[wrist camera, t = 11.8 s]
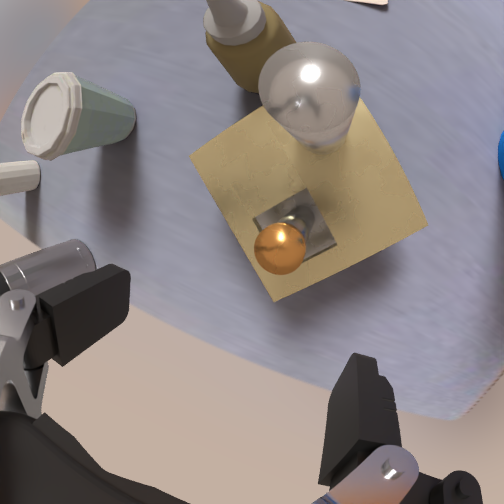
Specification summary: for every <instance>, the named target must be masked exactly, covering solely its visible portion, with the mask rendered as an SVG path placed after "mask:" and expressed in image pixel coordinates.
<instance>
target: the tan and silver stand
mask: <svg viewBox="0 0 504 504" xmlns="http://www.w3.org/2000/svg"><path fill="white" fill-rule="evenodd" d="M258 89H259V95H260V99H261V102H262V104H263V106H261V107H260V108H258V109H256V110H255V111H253V112H252V113H250V114H249V115H247V116H246V117H244V118H242V119H241V120H239V121H238V122H236V123H235V124H233V125H232V126H230V127H229V128H228V129H226V130H225V131H223V132H222V133H220V134H219V135H217V136H216V137H215V138H213V139H212V140H210V141H209V142H207V143H206V144H205V145H203V146H202V147H201V148H199V149H198V150H196V151H195V152H194V153H192V154H191V155H190V156H189V157H190V159H191V161H192V162H193V164H194V166H195V168H196V169H197V171H198V173H199V175H200V176H201V178H202V180H203V181H204V183H205V185H206V187H207V188H208V190H209V192H210V194H211V195H212V197H213V199H214V200H215V202H216V204H217V206H218V207H219V209H220V211H221V212H222V214H223V216H224V218H225V219H226V221H227V223H228V225H229V226H230V228H231V230H232V231H233V233H234V235H235V237H236V238H237V240H238V242H239V243H240V245H241V247H242V249H243V250H244V252H245V254H246V255H247V257H248V259H249V261H250V262H251V264H252V266H253V267H254V269H255V271H256V272H257V274H258V276H259V278H260V279H261V281H262V283H263V284H264V286H265V288H266V290H267V291H268V293H269V295H270V296H271V298H272V300H273V301H274V302H275V301H278V300H280V299H282V298H284V297H287V296H289V295H291V294H293V293H295V292H297V291H300V290H302V289H304V288H306V287H308V286H310V285H312V284H315V283H317V282H319V281H321V280H323V279H325V278H327V277H329V276H331V275H333V274H335V273H337V272H340V271H342V270H344V269H346V268H348V267H350V266H352V265H354V264H356V263H358V262H360V261H362V260H364V259H366V258H368V257H370V256H371V255H373V254H375V253H377V252H379V251H381V250H383V249H385V248H387V247H389V246H391V245H393V244H395V243H396V242H398V241H400V240H402V239H404V238H406V237H408V236H410V235H411V234H413V233H415V232H417V231H419V230H421V229H422V228H424V227H426V226H428V223H427V221H426V218H425V216H424V214H423V211H422V209H421V207H420V205H419V202H418V200H417V198H416V196H415V194H414V191H413V189H412V187H411V185H410V183H409V181H408V179H407V177H406V175H405V173H404V171H403V169H402V167H401V165H400V163H399V162H398V160H397V158H396V156H395V154H394V152H393V150H392V149H391V147H390V145H389V143H388V142H387V140H386V138H385V136H384V135H383V133H382V131H381V130H380V128H379V126H378V125H377V123H376V121H375V120H374V118H373V117H372V115H371V113H370V112H369V110H368V109H367V107H366V106H365V104H364V103H363V101H362V100H361V98H360V80H359V77H358V74H357V71H356V69H355V67H354V66H353V64H352V63H351V62H350V61H349V59H348V58H347V57H346V56H345V55H343V54H342V53H341V52H339V51H338V50H336V49H334V48H332V47H330V46H328V45H325V44H321V43H316V42H299V43H294V44H291V45H288V46H285V47H283V48H281V49H280V50H278V51H277V52H275V53H274V54H273V55H272V56H271V57H270V58H269V59H268V60H267V61H266V63H265V64H264V66H263V68H262V70H261V73H260V76H259V82H258ZM299 205H303V206H307V207H309V208H310V209H311V210H312V211H313V213H314V216H315V222H314V225H313V227H312V230H311V233H310V235H309V238H308V240H307V243H306V253H305V256H304V259H303V261H302V263H301V265H300V266H299V267H298V268H297V269H296V270H295V271H293V272H292V273H289V274H286V275H275V274H272V273H269V272H267V271H266V270H264V269H263V268H262V267H261V266H260V265H259V263H258V262H257V260H256V257H255V254H254V243H255V240H256V238H257V236H258V235H259V233H260V232H261V231H262V230H263V229H265V228H266V227H267V226H269V225H271V224H273V223H276V222H277V221H279V220H280V219H281V218H282V217H283V216H284V215H286V214H287V213H288V212H289V211H290V210H291V209H293V208H294V207H296V206H299Z"/></svg>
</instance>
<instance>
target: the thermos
mask: <svg viewBox="0 0 504 504" xmlns="http://www.w3.org/2000/svg"><path fill="white" fill-rule="evenodd" d="M498 162H499V166H500V171H501V175H502V177H503V179H504V131H503V133H502V134H501V138H500V141H499V145H498Z"/></svg>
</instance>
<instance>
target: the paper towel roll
mask: <svg viewBox="0 0 504 504" xmlns="http://www.w3.org/2000/svg"><path fill="white" fill-rule="evenodd" d="M39 181H40V168H39V165H38V163H37V162H36V161H33V160H31V161H19V162H8V163H0V196H2V195H8V194H13V193H19V192H24V191H30V190H34V189H36V188H37V186H38V184H39Z"/></svg>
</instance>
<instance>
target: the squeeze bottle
mask: <svg viewBox="0 0 504 504" xmlns="http://www.w3.org/2000/svg"><path fill="white" fill-rule="evenodd" d="M206 1H207V3H208V6H209V8H208V9H207V10H206V13H205V15H204V18H203V24H204V28H205V30H206V42H207V45H208V47H209V48H210V49H211V51H212V52H213V54H214V55H215V56H216V57H217V59H218V60H219V61H220V63H221V64H222V65H223V66H224V68H225V69H226V70H227V72H228V73H229V74H230V76H231V77H232V78H233V80H234V81H235V82H236V84H237V85H239V86H240V87H242V88H244V89H245V90H247V91H248V92H254V93H259V89H258V82H259V76H260V73H261V70H262V68H263V66H264V64H265V63H266V61H267V60H268V59H269V58H270V57H271V56H272V55H273V54H274V53H275V52H277V51H278V50H280V49H281V48H283V47H285V46H288V45H291V44H294V43H296V41H295V40H294V38H293V36H292V35H291V33H290V32H289V30H288V29H287V27H286V26H285V24H284V22H283V21H282V19H281V18H280V17H279V15H278V14H277V13H276V12H275V11H274V10H273V9H272V7H271V6H268V5H266V4H264V3H261V2H259V1H257V0H206Z"/></svg>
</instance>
